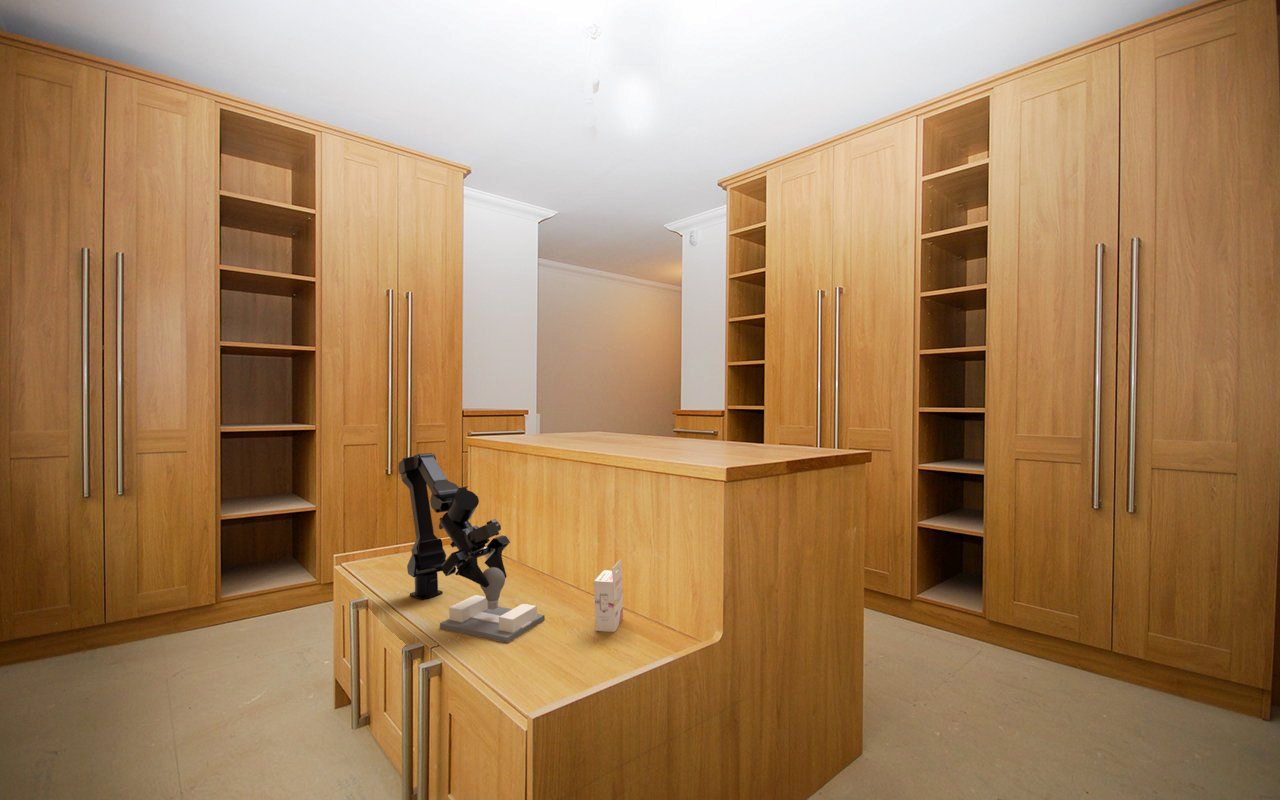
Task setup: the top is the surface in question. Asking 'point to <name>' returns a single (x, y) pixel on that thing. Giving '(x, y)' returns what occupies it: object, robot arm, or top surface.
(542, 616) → the rail board
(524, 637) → the top surface
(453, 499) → the robot arm
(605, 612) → the ink cartridge box
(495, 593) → the light bulb
